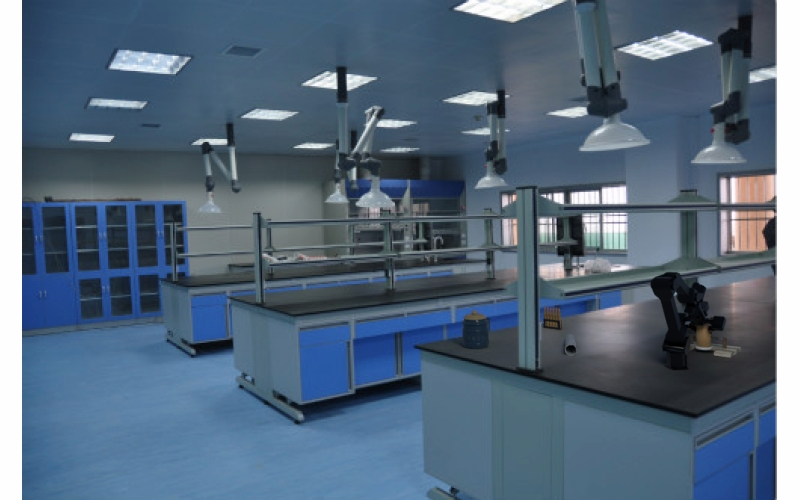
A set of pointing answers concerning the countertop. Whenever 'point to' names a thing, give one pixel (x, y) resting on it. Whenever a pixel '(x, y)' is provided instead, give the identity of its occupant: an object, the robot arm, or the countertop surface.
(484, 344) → the canister
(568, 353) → the tube
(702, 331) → the lidded paper cup
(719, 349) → the grey piece
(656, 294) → the robot arm
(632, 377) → the countertop surface
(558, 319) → the ammunition clip
